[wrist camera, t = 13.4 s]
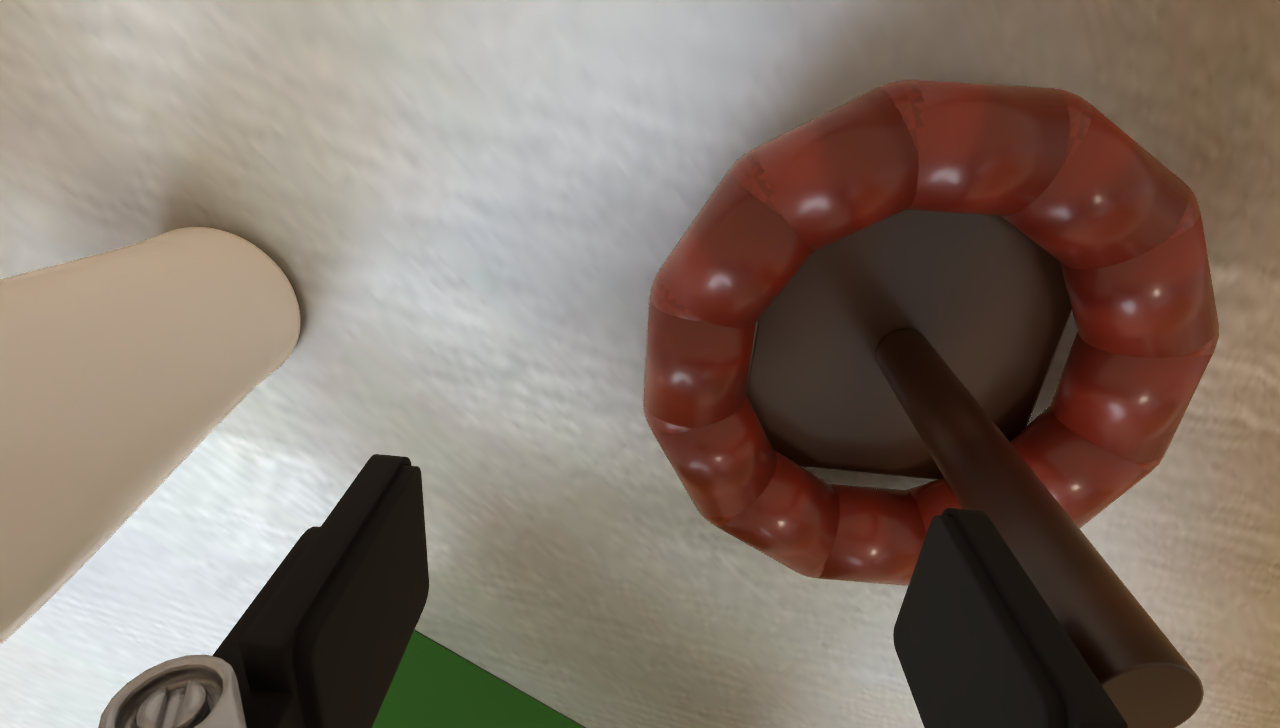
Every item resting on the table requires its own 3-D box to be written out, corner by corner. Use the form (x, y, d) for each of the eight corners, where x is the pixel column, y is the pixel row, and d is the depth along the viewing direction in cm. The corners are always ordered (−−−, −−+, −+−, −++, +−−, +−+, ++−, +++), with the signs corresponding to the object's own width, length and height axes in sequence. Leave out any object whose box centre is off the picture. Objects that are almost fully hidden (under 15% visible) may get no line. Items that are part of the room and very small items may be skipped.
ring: (1260, 98, 17) (1369, 110, 14) (1062, 556, 23) (1111, 623, 21) (665, 62, 17) (662, 67, 15) (636, 521, 24) (630, 583, 21)
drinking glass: (156, 156, 21) (-830, 382, 7) (359, 271, 22) (-158, 646, 8) (109, 325, 23) (-669, 718, 10) (292, 419, 25) (-178, 879, 11)
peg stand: (1078, 207, 20) (1707, 480, 8) (985, 461, 24) (1300, 904, 12) (773, 180, 20) (911, 405, 8) (732, 436, 24) (781, 848, 12)
